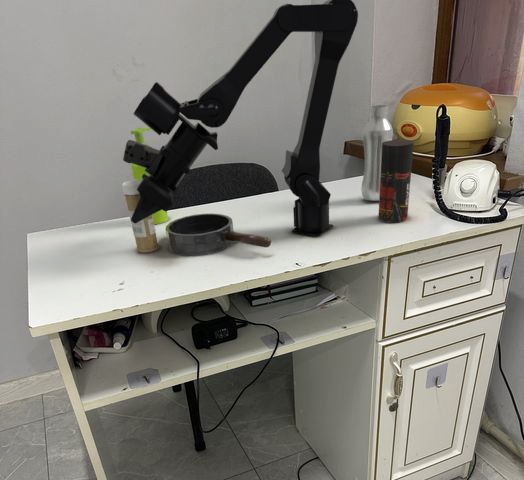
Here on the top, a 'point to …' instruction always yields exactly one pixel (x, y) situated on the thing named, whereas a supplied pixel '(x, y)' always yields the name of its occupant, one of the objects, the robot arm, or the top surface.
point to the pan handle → (245, 238)
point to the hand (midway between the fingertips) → (134, 218)
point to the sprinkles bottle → (145, 227)
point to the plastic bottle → (374, 150)
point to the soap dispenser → (139, 171)
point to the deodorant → (395, 180)
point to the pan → (198, 234)
